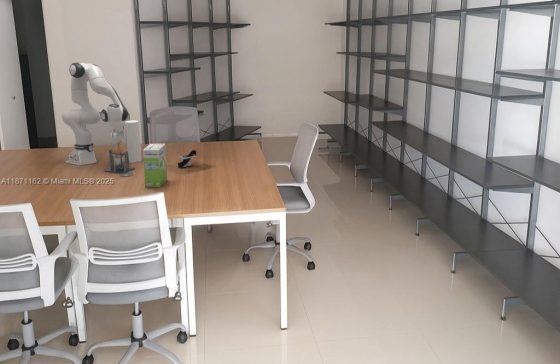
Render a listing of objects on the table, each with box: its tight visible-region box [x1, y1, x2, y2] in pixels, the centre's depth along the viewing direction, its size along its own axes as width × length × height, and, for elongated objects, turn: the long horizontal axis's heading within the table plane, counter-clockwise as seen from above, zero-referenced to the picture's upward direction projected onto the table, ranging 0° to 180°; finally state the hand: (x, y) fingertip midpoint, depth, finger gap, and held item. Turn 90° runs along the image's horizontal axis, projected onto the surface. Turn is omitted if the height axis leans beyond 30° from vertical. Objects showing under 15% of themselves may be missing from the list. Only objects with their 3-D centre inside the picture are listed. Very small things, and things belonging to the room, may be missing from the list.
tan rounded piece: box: [111, 140, 125, 155], centre depth 363 cm, size 11×6×9 cm, turn 66°
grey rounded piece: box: [118, 171, 134, 178], centre depth 356 cm, size 9×9×1 cm
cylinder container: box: [124, 119, 143, 163], centre depth 389 cm, size 9×9×30 cm
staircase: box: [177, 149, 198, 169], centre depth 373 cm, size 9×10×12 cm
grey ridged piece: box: [104, 148, 136, 175], centre depth 365 cm, size 15×14×14 cm
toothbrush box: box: [142, 143, 168, 188], centre depth 333 cm, size 18×10×24 cm, turn 178°
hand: (118, 148), depth 363 cm, fingers closed on tan rounded piece, 6 cm apart
